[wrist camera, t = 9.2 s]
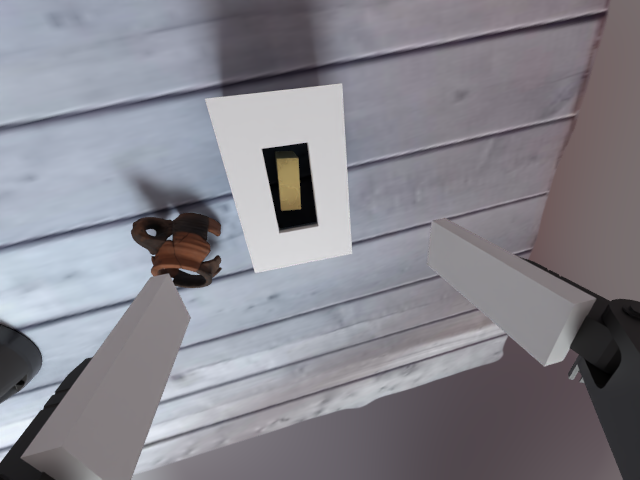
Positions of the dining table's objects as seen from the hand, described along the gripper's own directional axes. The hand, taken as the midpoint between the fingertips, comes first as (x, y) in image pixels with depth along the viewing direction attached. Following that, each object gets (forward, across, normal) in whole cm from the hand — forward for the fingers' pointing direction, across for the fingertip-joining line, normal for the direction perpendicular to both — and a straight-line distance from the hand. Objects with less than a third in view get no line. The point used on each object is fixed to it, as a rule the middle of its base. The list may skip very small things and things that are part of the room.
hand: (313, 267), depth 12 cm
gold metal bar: (+25, +1, 0) cm, 25 cm away
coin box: (+25, +1, 0) cm, 25 cm away
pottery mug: (+25, -15, -7) cm, 30 cm away
